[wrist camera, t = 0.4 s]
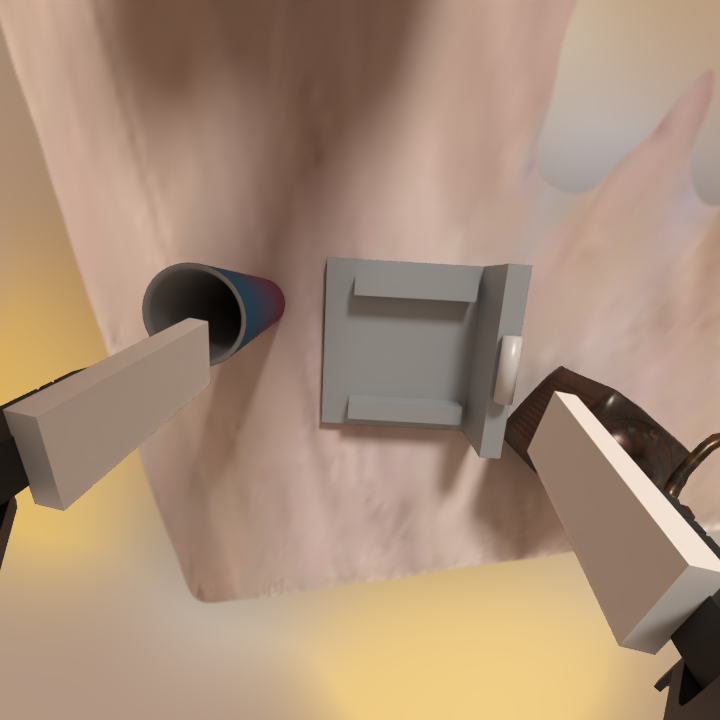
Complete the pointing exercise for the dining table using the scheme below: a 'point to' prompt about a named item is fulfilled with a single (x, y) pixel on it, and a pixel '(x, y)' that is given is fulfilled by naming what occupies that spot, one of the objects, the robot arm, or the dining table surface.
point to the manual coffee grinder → (613, 429)
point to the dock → (423, 346)
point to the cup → (213, 305)
